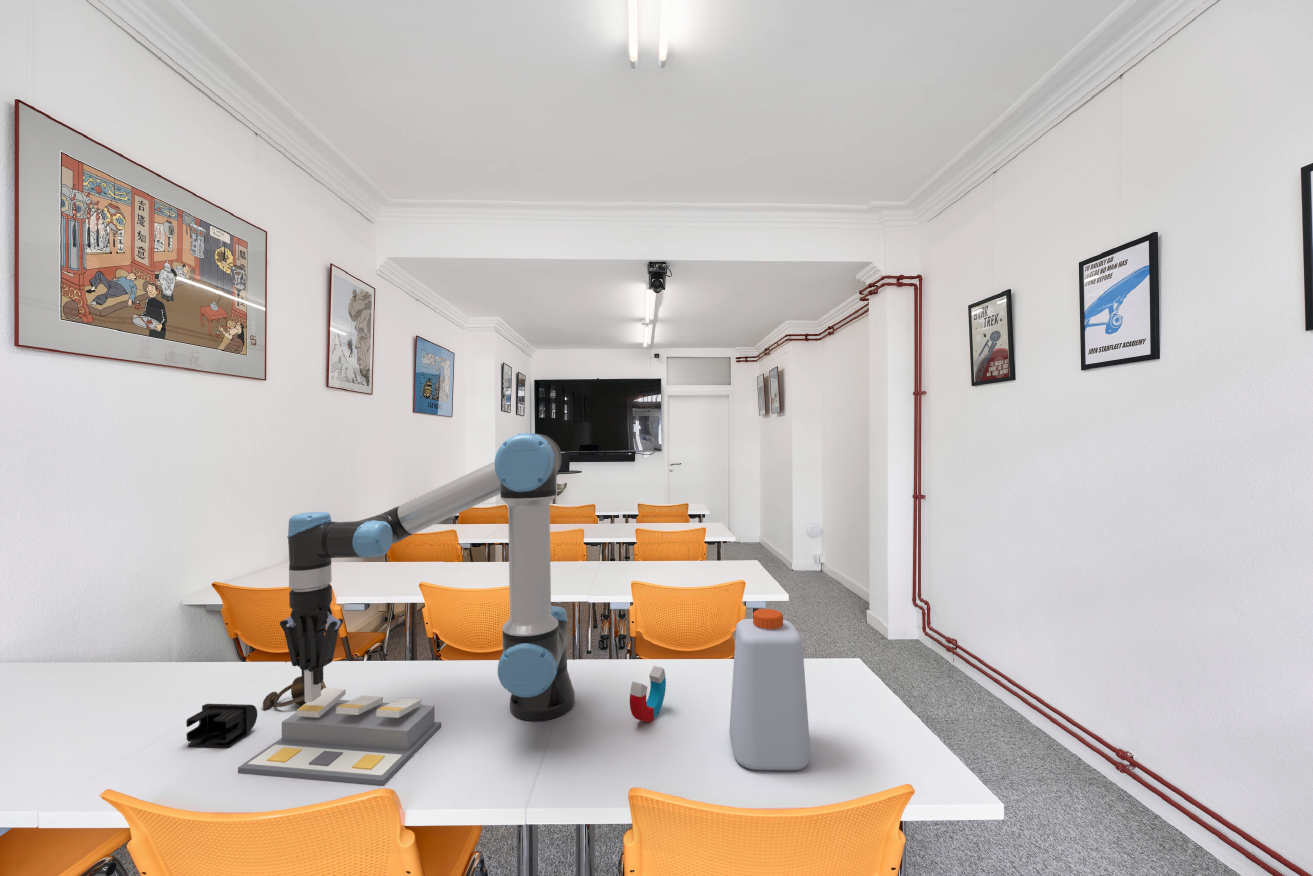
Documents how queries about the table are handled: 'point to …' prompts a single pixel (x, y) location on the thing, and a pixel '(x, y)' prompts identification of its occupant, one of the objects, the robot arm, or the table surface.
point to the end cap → (221, 725)
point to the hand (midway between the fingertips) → (313, 698)
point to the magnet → (656, 696)
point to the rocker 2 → (398, 707)
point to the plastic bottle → (769, 695)
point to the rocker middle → (359, 705)
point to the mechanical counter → (296, 693)
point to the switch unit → (345, 745)
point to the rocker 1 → (321, 703)
